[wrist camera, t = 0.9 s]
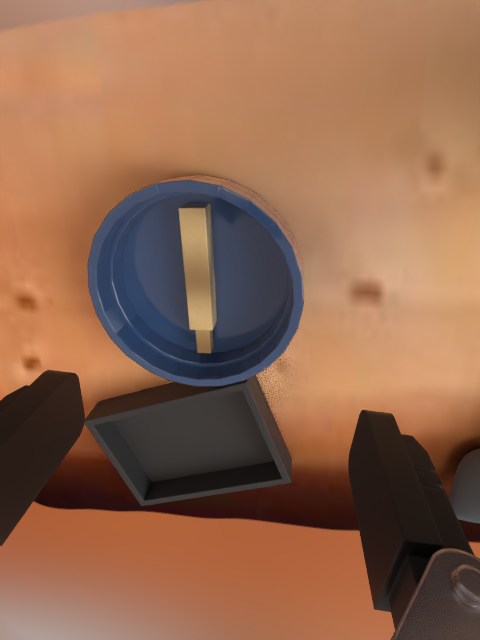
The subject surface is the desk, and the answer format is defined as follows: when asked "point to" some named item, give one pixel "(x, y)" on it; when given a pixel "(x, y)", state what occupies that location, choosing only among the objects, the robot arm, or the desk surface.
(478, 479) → the paintbrush
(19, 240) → the desk surface
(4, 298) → the desk surface
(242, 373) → the bowl
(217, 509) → the desk surface
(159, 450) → the pen tray
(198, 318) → the wooden stick
